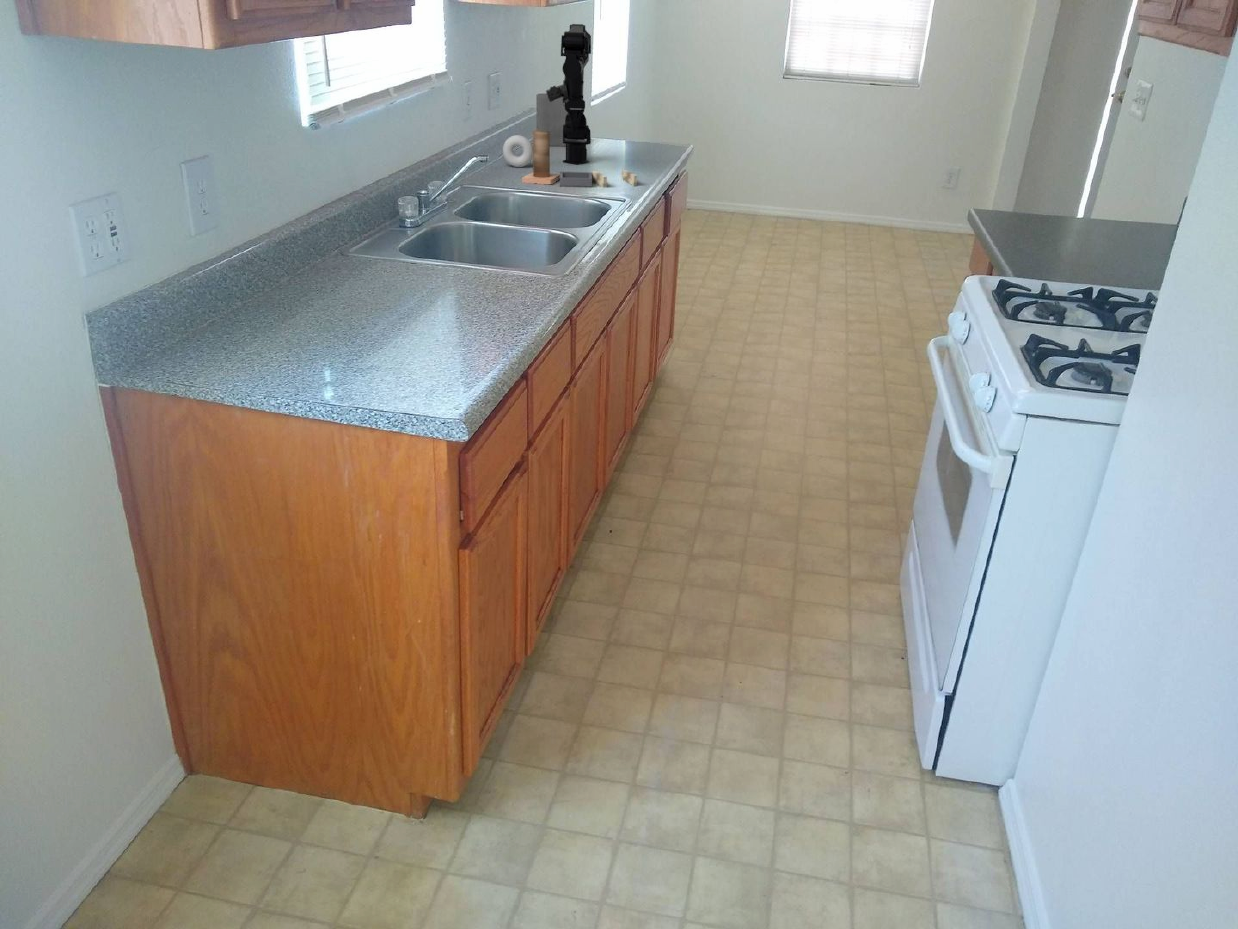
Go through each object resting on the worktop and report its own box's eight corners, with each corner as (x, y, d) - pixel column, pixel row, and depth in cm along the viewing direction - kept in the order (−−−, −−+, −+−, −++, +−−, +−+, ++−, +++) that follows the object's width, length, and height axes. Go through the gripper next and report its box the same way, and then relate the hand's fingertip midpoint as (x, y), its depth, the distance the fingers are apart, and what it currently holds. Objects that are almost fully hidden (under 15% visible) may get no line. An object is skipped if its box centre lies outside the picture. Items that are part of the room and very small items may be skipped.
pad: (532, 176, 295) (532, 171, 295) (560, 179, 293) (560, 174, 293) (522, 182, 288) (522, 177, 287) (550, 184, 286) (550, 179, 285)
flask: (577, 144, 350) (577, 86, 341) (578, 147, 345) (579, 88, 336) (536, 143, 349) (536, 85, 339) (537, 146, 344) (536, 87, 334)
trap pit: (560, 179, 293) (560, 171, 292) (591, 180, 293) (591, 172, 292) (559, 186, 284) (559, 177, 283) (591, 187, 285) (591, 178, 284)
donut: (534, 166, 310) (534, 134, 305) (532, 168, 307) (532, 136, 302) (504, 165, 310) (503, 133, 306) (502, 167, 307) (501, 135, 303)
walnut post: (531, 174, 291) (531, 130, 285) (547, 173, 293) (547, 129, 286) (535, 177, 287) (534, 132, 281) (551, 177, 288) (551, 132, 282)
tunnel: (591, 180, 293) (591, 170, 292) (624, 179, 297) (624, 169, 296) (603, 187, 285) (603, 177, 284) (637, 185, 289) (637, 175, 288)
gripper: (546, 73, 298) (546, 125, 305) (548, 78, 282) (548, 133, 289) (582, 74, 299) (581, 126, 306) (585, 79, 283) (584, 134, 290)
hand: (573, 129), depth 298 cm, fingers open, 9 cm apart
